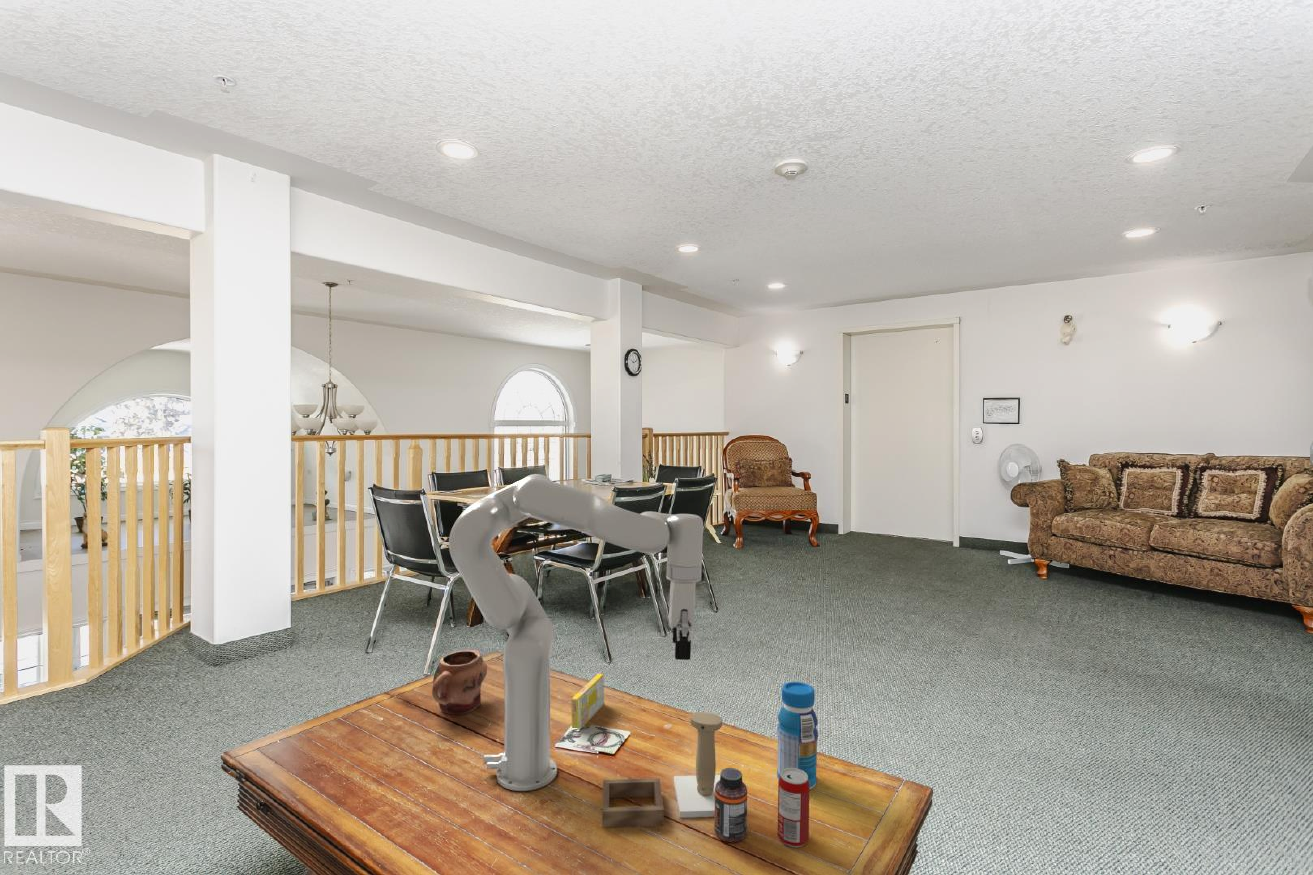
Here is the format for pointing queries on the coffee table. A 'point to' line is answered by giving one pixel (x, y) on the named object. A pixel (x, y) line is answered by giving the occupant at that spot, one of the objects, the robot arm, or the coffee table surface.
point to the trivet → (693, 798)
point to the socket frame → (632, 814)
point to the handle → (705, 749)
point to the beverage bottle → (798, 730)
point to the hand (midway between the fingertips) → (681, 650)
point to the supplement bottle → (730, 806)
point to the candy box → (587, 701)
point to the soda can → (793, 807)
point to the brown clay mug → (459, 681)
